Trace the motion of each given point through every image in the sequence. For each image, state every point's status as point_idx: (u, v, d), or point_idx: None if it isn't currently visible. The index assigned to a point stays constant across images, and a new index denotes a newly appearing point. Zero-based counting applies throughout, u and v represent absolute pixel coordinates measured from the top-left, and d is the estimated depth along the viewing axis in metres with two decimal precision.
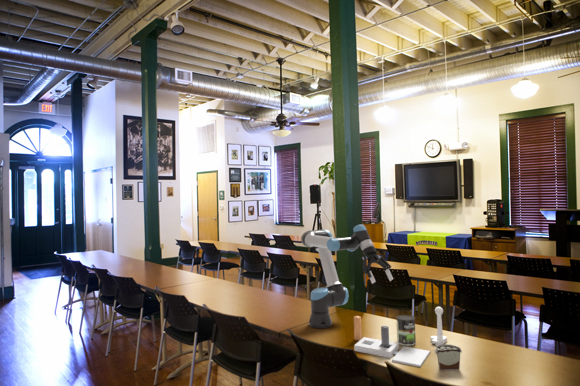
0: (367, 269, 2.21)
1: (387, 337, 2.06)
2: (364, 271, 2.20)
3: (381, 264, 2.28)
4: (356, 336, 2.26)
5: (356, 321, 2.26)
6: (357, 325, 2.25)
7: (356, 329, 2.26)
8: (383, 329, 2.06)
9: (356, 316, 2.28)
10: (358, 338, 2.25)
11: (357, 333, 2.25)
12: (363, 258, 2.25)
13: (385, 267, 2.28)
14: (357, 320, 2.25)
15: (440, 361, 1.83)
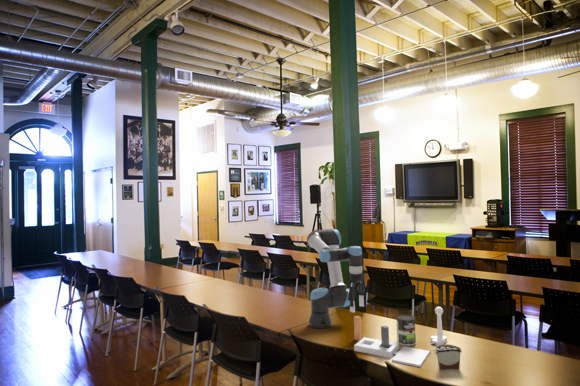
0: None
1: (387, 337, 2.06)
2: (349, 300, 2.19)
3: (359, 290, 2.31)
4: (356, 336, 2.26)
5: (356, 321, 2.26)
6: (357, 325, 2.25)
7: (356, 329, 2.26)
8: (383, 329, 2.06)
9: (356, 316, 2.28)
10: (358, 338, 2.25)
11: (357, 333, 2.25)
12: (351, 285, 2.22)
13: (361, 293, 2.33)
14: (357, 320, 2.25)
15: (440, 361, 1.83)
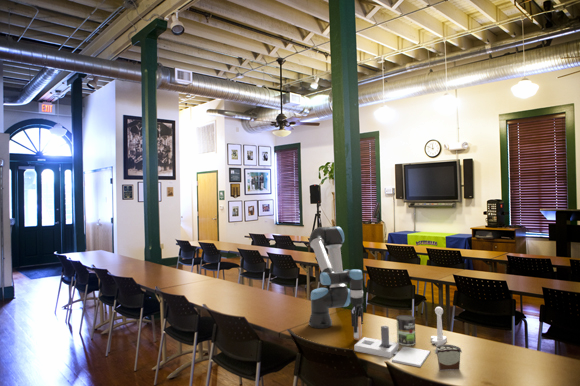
0: None
1: (387, 337, 2.06)
2: (353, 326, 2.23)
3: None
4: None
5: None
6: None
7: None
8: (383, 329, 2.06)
9: None
10: (358, 338, 2.25)
11: None
12: (353, 312, 2.22)
13: None
14: None
15: (440, 361, 1.83)
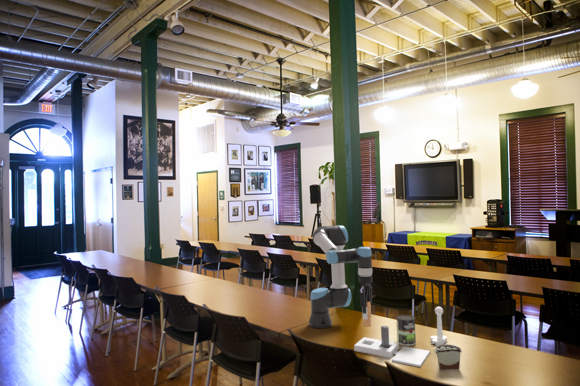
0: None
1: (387, 337, 2.06)
2: (362, 306, 2.10)
3: (367, 296, 2.15)
4: (365, 322, 2.12)
5: None
6: None
7: None
8: (383, 329, 2.06)
9: None
10: (367, 324, 2.12)
11: (366, 319, 2.12)
12: (361, 292, 2.09)
13: None
14: None
15: (440, 361, 1.83)
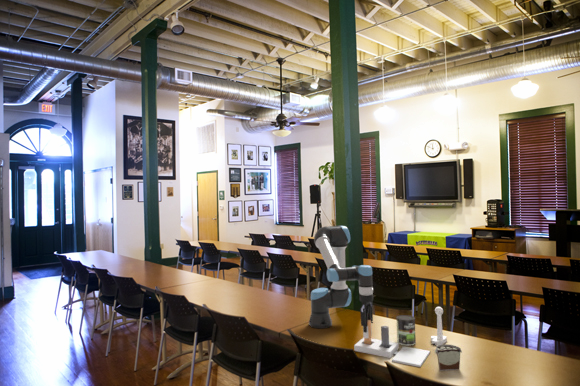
0: None
1: (387, 337, 2.06)
2: (363, 325, 2.09)
3: (368, 314, 2.15)
4: (366, 341, 2.12)
5: None
6: None
7: None
8: (383, 329, 2.06)
9: None
10: (368, 343, 2.11)
11: None
12: (362, 311, 2.08)
13: (369, 319, 2.15)
14: (367, 324, 2.12)
15: (440, 361, 1.83)
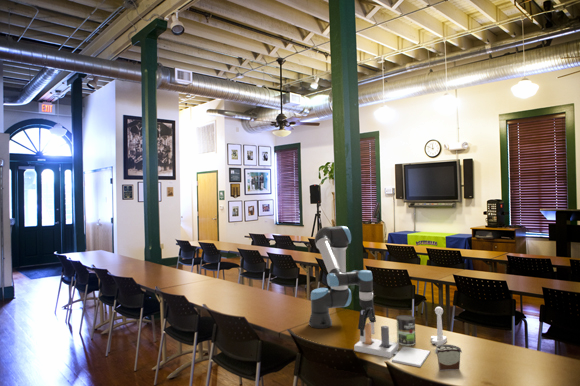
0: None
1: (387, 337, 2.06)
2: None
3: (370, 316, 2.17)
4: None
5: (366, 329, 2.12)
6: (367, 333, 2.11)
7: (366, 337, 2.12)
8: (383, 329, 2.06)
9: (366, 323, 2.14)
10: None
11: (367, 341, 2.11)
12: (362, 313, 2.08)
13: (371, 319, 2.19)
14: (367, 328, 2.11)
15: (440, 361, 1.83)
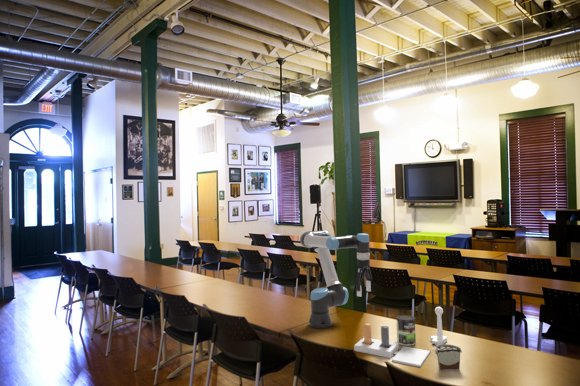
0: None
1: (387, 337, 2.06)
2: None
3: (366, 275, 2.40)
4: None
5: (366, 329, 2.12)
6: (367, 333, 2.11)
7: (366, 337, 2.12)
8: (383, 329, 2.06)
9: (366, 323, 2.14)
10: None
11: (367, 341, 2.11)
12: (359, 271, 2.30)
13: (368, 278, 2.41)
14: (367, 328, 2.11)
15: (440, 361, 1.83)
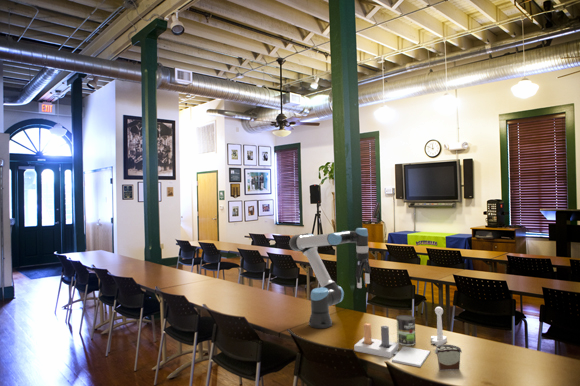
0: None
1: (387, 337, 2.06)
2: (356, 276, 2.39)
3: (365, 268, 2.51)
4: None
5: (366, 329, 2.12)
6: (367, 333, 2.11)
7: (366, 337, 2.12)
8: (383, 329, 2.06)
9: (366, 323, 2.14)
10: None
11: (367, 341, 2.11)
12: (358, 263, 2.42)
13: (367, 271, 2.53)
14: (367, 328, 2.11)
15: (440, 361, 1.83)
